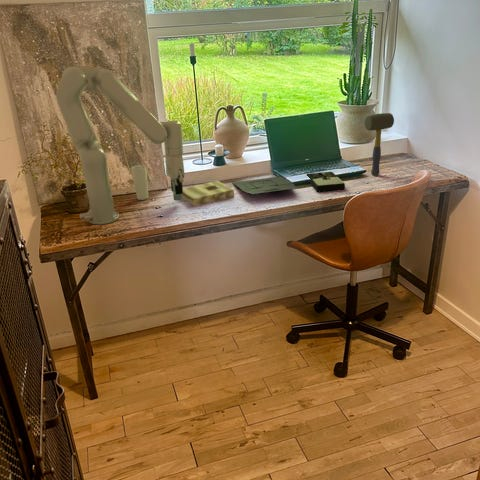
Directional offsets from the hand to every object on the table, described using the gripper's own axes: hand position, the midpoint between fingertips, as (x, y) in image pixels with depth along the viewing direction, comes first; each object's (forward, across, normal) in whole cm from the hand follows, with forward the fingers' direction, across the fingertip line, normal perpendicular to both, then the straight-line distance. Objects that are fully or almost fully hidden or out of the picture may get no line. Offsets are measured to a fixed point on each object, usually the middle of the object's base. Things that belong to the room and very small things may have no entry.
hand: (177, 191), depth 208 cm
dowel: (+3, 0, 0) cm, 3 cm away
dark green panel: (+5, +6, +42) cm, 42 cm away
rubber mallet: (+3, +22, +96) cm, 99 cm away
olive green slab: (+6, -2, +15) cm, 16 cm away
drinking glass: (+7, -18, -10) cm, 22 cm away
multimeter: (+5, +18, +68) cm, 70 cm away
